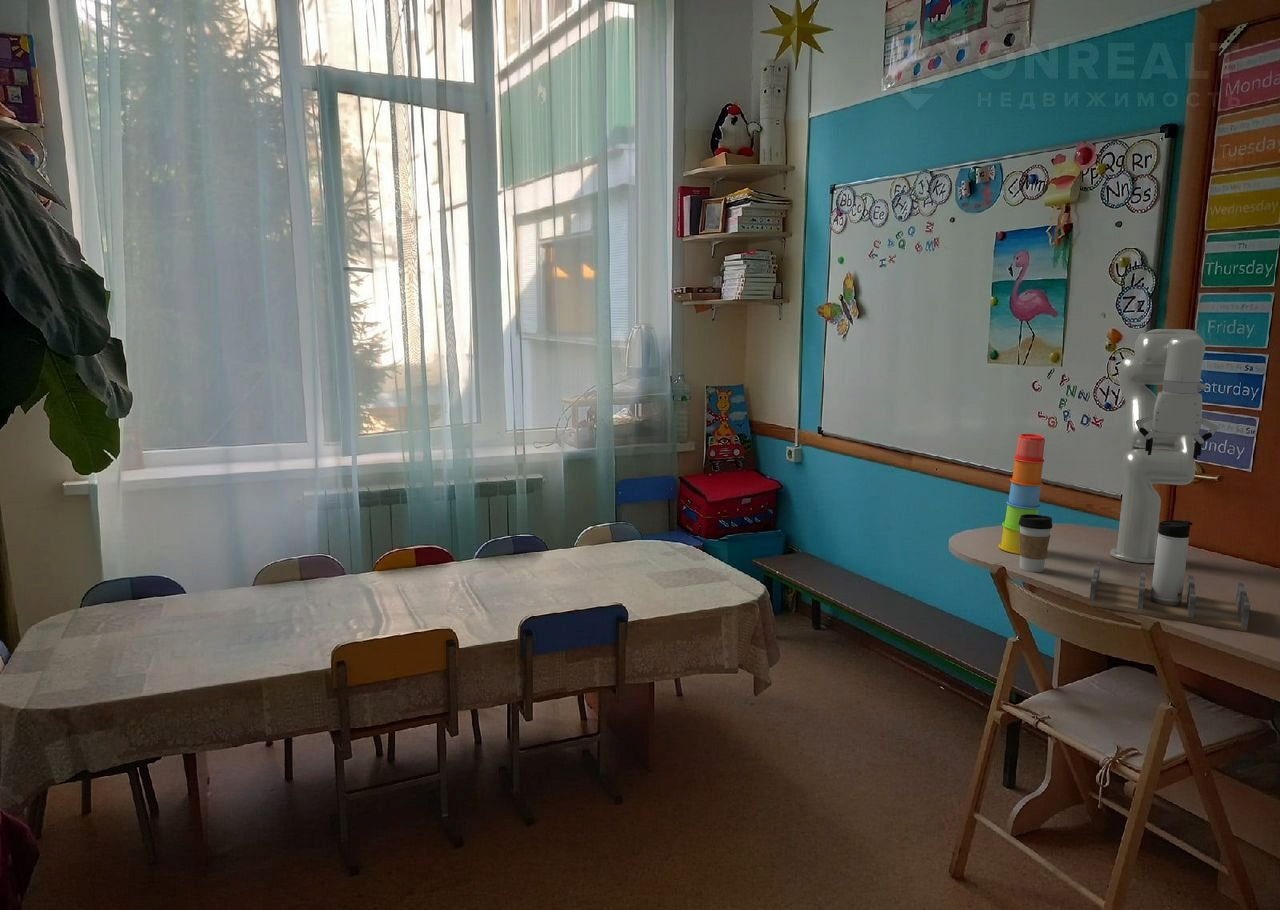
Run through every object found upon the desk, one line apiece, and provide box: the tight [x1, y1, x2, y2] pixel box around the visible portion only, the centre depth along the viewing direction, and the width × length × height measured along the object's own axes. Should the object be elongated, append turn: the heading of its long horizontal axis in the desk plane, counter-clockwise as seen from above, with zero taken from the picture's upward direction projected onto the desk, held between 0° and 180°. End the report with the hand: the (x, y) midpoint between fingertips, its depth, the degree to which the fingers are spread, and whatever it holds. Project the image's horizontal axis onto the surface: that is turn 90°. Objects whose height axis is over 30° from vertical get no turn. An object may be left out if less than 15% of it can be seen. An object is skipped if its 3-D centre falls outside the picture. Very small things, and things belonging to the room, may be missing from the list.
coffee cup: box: [1019, 514, 1053, 573], centre depth 228 cm, size 8×8×15 cm
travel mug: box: [1151, 519, 1193, 606], centre depth 198 cm, size 6×7×20 cm
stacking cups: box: [998, 433, 1046, 555], centre depth 244 cm, size 10×10×35 cm
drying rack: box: [1088, 561, 1251, 633], centre depth 200 cm, size 18×31×6 cm, turn 58°
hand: (1171, 456), depth 208 cm, fingers open, 9 cm apart
